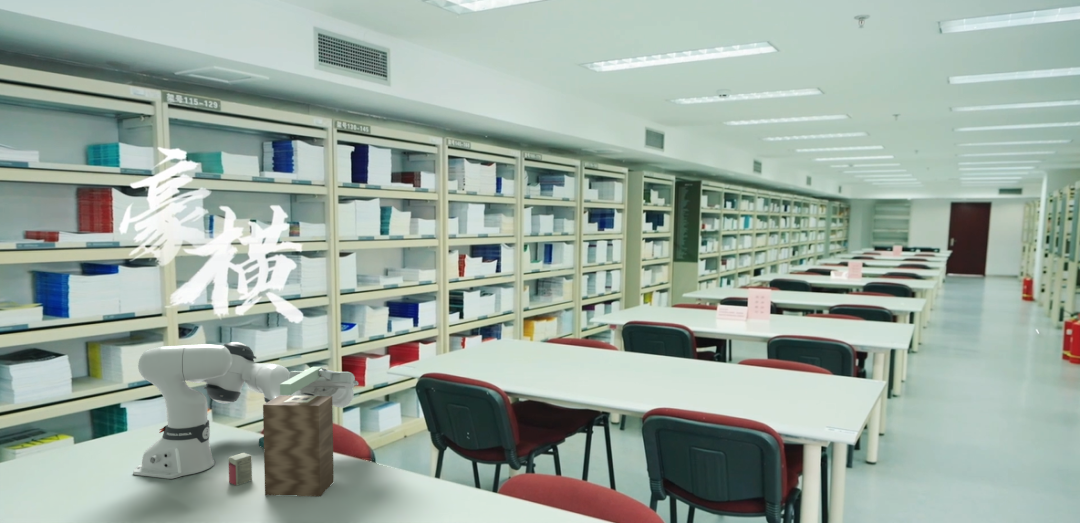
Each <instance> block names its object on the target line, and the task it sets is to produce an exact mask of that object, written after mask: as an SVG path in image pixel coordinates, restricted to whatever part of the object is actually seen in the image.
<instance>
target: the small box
mask: <svg viewBox="0 0 1080 523" xmlns="http://www.w3.org/2000/svg"><path fill="white" fill-rule="evenodd" d="M252 460H253V459H252V455H251V454H249V453H246V452H241V453H237V454H235V455H231V456H228V461H227V462H228V482H229V484H232V485H234V486H237V487H238V486H240V485H243V484H245V483H249V482H251V481H253V472H252V471H253V469H252V468H253V467H252V466H253V463H252ZM248 481H249V482H248Z"/></svg>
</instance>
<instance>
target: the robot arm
mask: <svg viewBox="0 0 1080 523" xmlns="http://www.w3.org/2000/svg"><path fill="white" fill-rule="evenodd" d="M254 359H255V360H256V359H257V356H255V355H254V352H253V350H252V349H251V347H250V346H248V345H246V344H245V343H242V342H241V341H232V342H226V343H224V344H223V345H220V344H213V343H205V344H203V343H202V344H185V345H183V344H180V345H162V346H158V347H157V346H156V347H154V348H150V349H146V350H145V351H144V352H143V353H142V354H141V356H140V358H139V360H138V362H137V363H138V364H137V366H138V367H137V368H138V372H139V374H140V376H141V378H143V379H144V380H146V381H147V382H149V383H150V384H152V385H153V386H154V387H155V388H157V390H158V391H159V393H161V395H162V397H163V399H164V401H165V402H164V403H165V407H166V408H165V409H166V413H167V414H166V415H167V416H166V417H167V424H166V425H164V426H163V427H161V428H160V429H159V434H161V433H162V437H160V438H159V439H158V440H157V441H155V442H154V443H153V444H152V445H151V446H149V447H148V448H147V449H145V451H144V452H143V455H142V460H141V463H140V464H138V465H137V466H136V467H134V469H133V472H132V474H133V475H135V476H142V477H144V476H145V477H152V478H160V479H168V480H170V479H177V478H179V477H182V476H188V475H193V474H197V473H201V472H204V471H206V470H208V469H210V468H212V467H213V466H215V463H216V461H215V460H214V457H213V454H212V450H211V449H212V448H211V446H210V445H211V444H210V435H211V434H210V433H211V430H210V427H211V426H210V420H209V419H208V399H207V397H206V395H208V397H209V398H210V399H212V400H213V401H214V402H216V403H219V404H229V403H230V404H231V403H235V402H237V401H238V399H239V398H240V396H241V392H242V389H243V386H244V384H245V385H246V386H247V387H248V388H249V389H250V390H252V391H254V392H256V393H260V394H263V396H264V397H263V398H264V399H263V400H264V402H265V403H267V402H269V401H271V400H272V399H274V398H276V397H278V396H279V395H280V384H281V383H283V382H285V381H287V380H289V379H290V378H292V377H294V376H296V375H298V374H300V373H302V372H304V371H305V370H306V369H304V371H303V370H302V371H301V370H297V371H296V370H294V371H293V370H292V371H289V369H288V368H287V367H285V366H283V365H281V364H278V363H270V362H267V363H266V362H263V363H261V362H255V360H254ZM318 376H319V377H320V378H319V379H317V380H315V381H314V382H312V383H310V384H309V385H307V386H305V387H303V388H302V389H300V390H298V391H297V392H295V393H293V394H292V396H332V407H333V406H334V407H337V408H346V407H348V406H349V405H350V404H351V402H352V401H353V399H354V395H355V394H354V393H355V392H354V389H353V388H354V387H355V386H359V381H358V380H356V379H355V378H356V376H355V374H354V373H352V372H350V371H334V370H330V369H329V370H328V369H326V368H323V367H322V370H319V371H318ZM187 382H189V383H196V384H197V383H200V384H201V383H205V384H206V385H205V386H203V390H204V389H205V390H206V393H207V394H206V395H205V394H204V393H202V392H201V391H199V390H197V389H194V388H192V387H190V386H189V385H188V384H187ZM281 396H289V395H281Z"/></svg>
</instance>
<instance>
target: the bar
mask: <svg viewBox="0 0 1080 523" xmlns="http://www.w3.org/2000/svg"><path fill="white" fill-rule="evenodd" d="M322 368H323V366H312V367H310V368H307V369H304V370H305V371H304V372H302V373H300V374H298V375H296V376H294V377H292V378H290V379H289V380H287V381H285V382H283V383H281V384H280V395H288V396H293V394H294V393H295V392H297V391H298V390H300V389H302V388H303V387H305V386H307V385H309V384H310V383H312V382H314V381H315V380H317V379H319V378H320V377H319V376H318V371H319V370H322Z"/></svg>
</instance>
